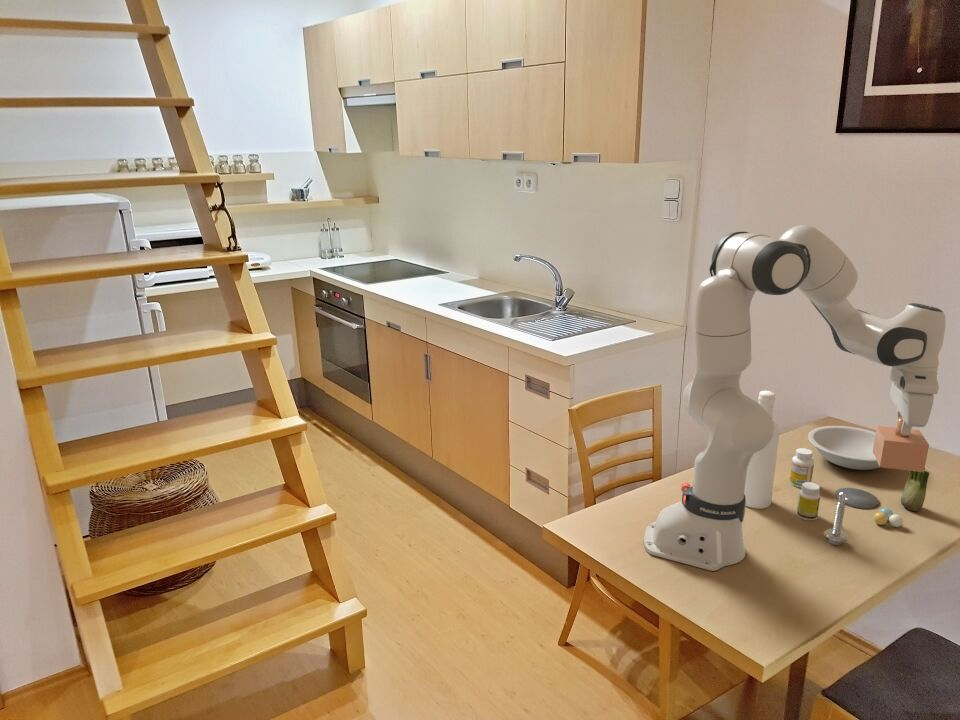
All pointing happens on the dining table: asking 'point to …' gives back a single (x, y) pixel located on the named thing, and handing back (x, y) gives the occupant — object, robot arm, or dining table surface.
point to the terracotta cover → (900, 448)
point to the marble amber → (880, 518)
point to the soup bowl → (845, 446)
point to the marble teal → (886, 512)
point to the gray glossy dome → (858, 498)
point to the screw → (837, 523)
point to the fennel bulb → (915, 490)
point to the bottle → (762, 463)
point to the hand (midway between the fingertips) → (902, 430)
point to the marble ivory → (895, 520)
